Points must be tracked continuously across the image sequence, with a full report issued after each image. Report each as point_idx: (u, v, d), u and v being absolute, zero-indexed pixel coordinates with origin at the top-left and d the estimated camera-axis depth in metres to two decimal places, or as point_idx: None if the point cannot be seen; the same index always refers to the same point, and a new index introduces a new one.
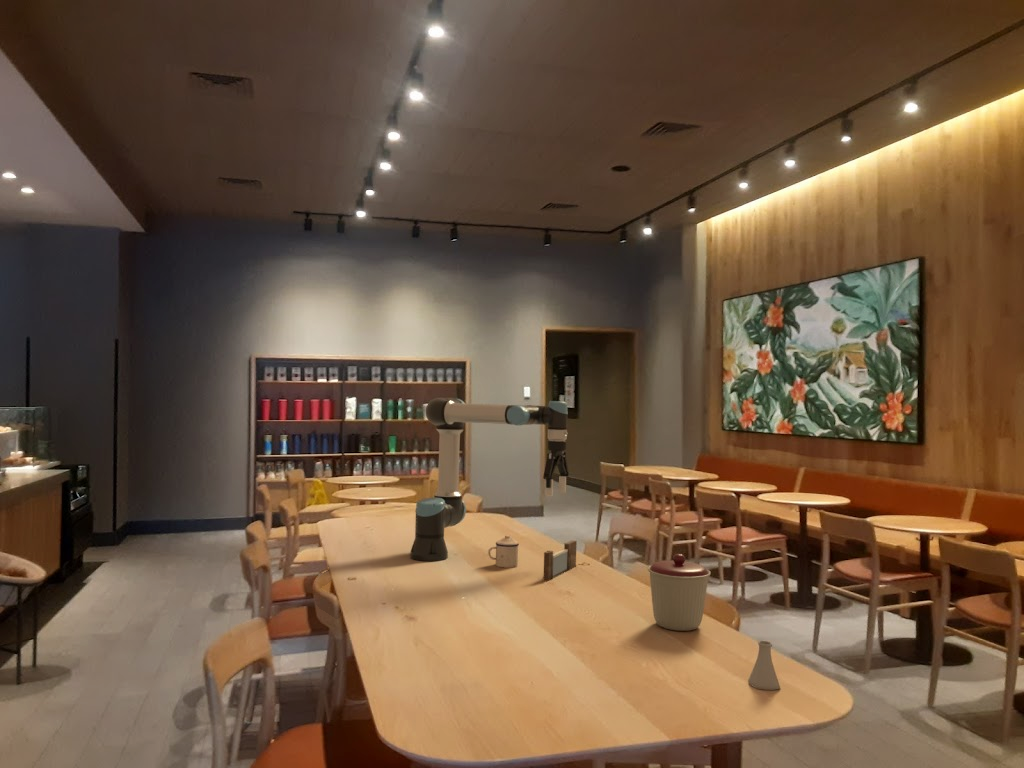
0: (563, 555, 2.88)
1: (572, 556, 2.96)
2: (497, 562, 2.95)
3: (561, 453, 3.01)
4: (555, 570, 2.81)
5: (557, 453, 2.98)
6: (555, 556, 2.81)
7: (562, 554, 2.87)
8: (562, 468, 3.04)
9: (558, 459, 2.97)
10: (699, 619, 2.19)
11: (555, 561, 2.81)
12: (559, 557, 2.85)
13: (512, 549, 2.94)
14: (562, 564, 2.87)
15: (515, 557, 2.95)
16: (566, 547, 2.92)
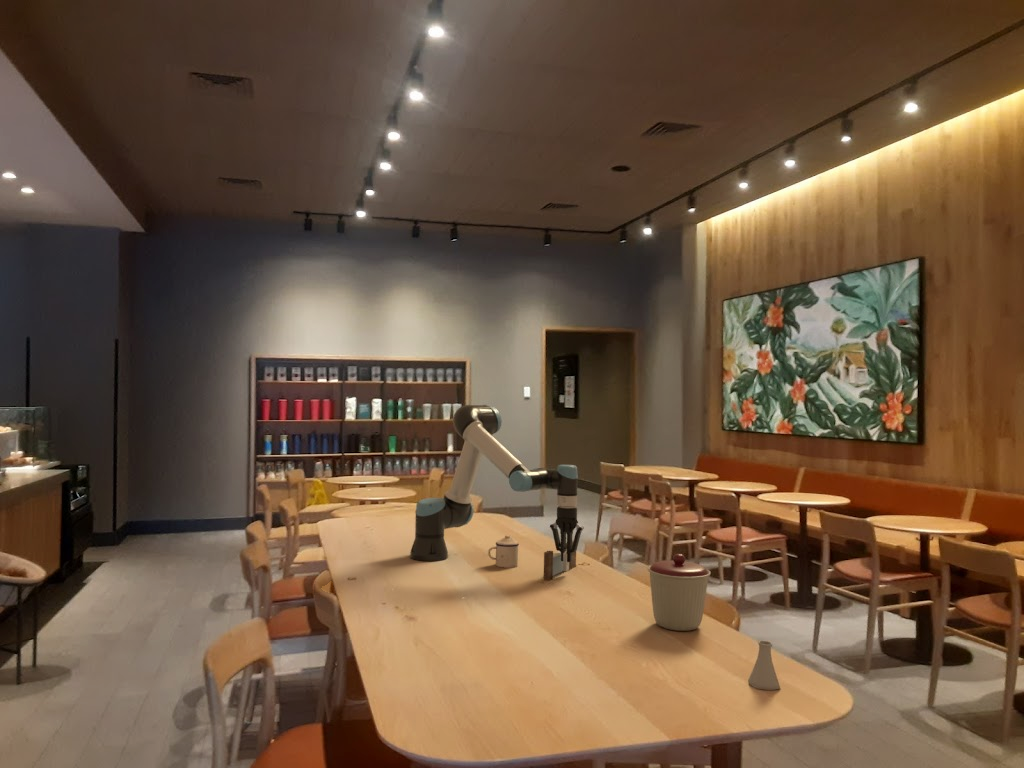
0: None
1: (572, 556, 2.96)
2: (497, 562, 2.95)
3: (572, 520, 2.81)
4: (555, 570, 2.81)
5: (558, 518, 2.84)
6: (555, 556, 2.81)
7: None
8: None
9: (561, 527, 2.82)
10: (699, 619, 2.19)
11: (554, 561, 2.81)
12: (559, 557, 2.85)
13: (512, 549, 2.94)
14: (562, 564, 2.87)
15: (515, 557, 2.95)
16: (566, 547, 2.92)
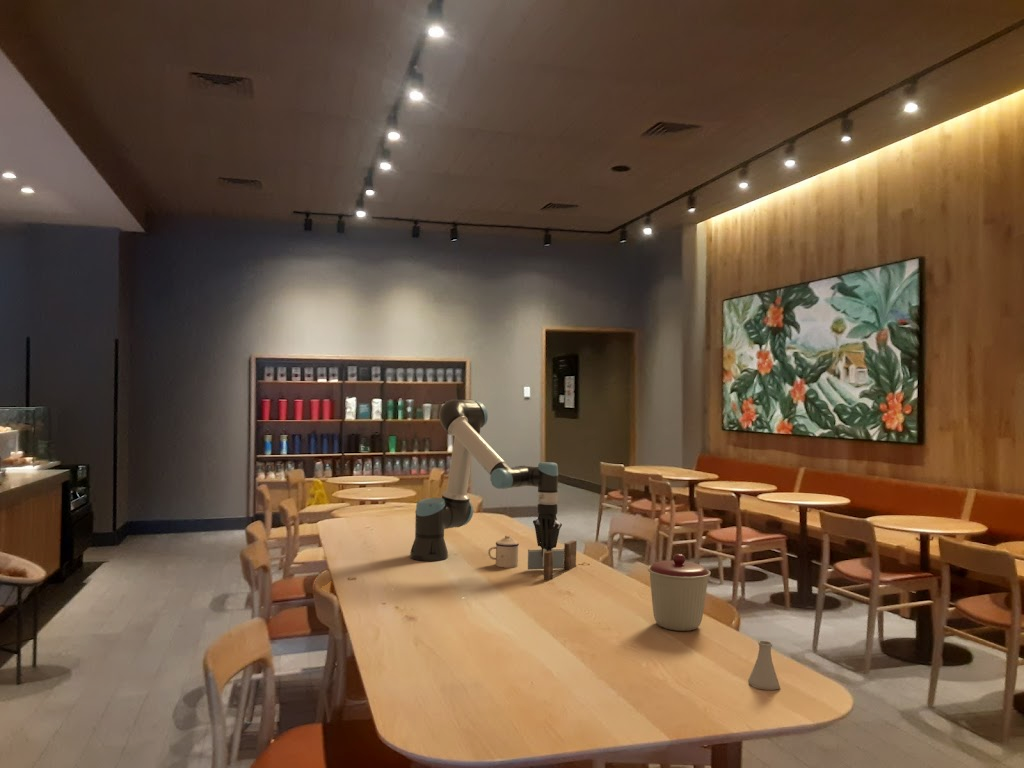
0: (554, 553, 2.92)
1: (572, 556, 2.96)
2: (497, 562, 2.95)
3: (550, 516, 2.86)
4: (534, 564, 2.90)
5: (540, 514, 2.90)
6: (533, 551, 2.90)
7: None
8: None
9: (541, 523, 2.88)
10: (699, 619, 2.19)
11: (533, 555, 2.90)
12: None
13: (512, 549, 2.94)
14: None
15: (515, 557, 2.95)
16: (566, 547, 2.92)
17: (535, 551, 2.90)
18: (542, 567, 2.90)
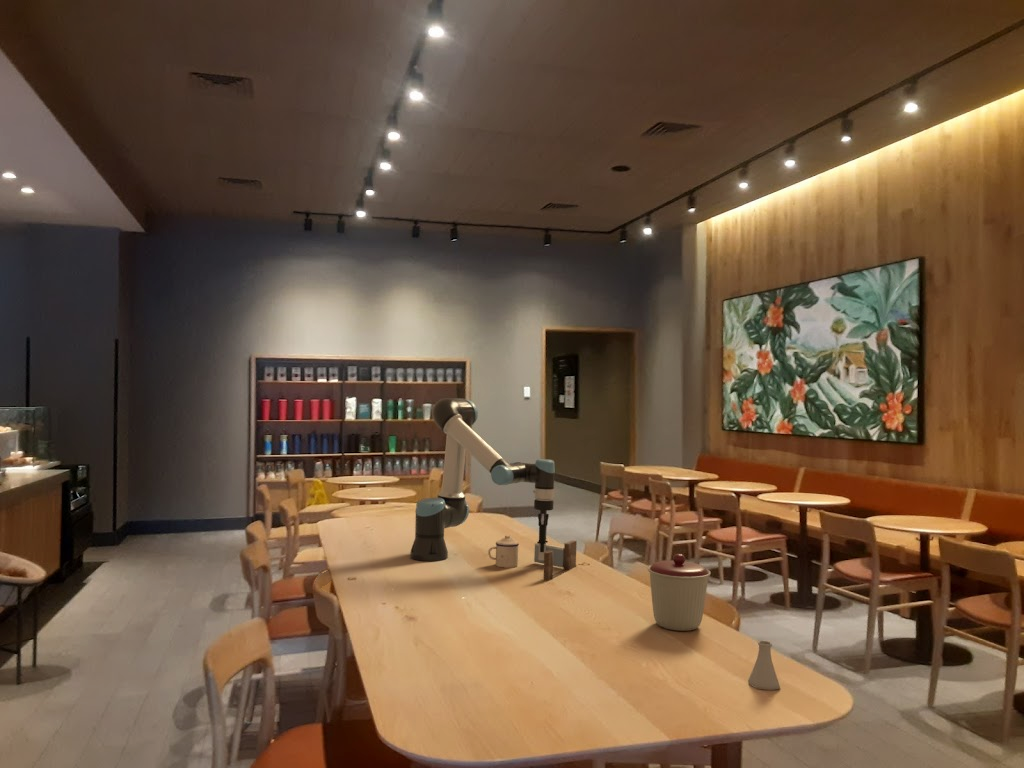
0: (554, 550, 2.96)
1: (572, 556, 2.96)
2: (497, 562, 2.95)
3: (540, 512, 2.95)
4: None
5: None
6: (538, 545, 3.02)
7: (552, 549, 2.97)
8: None
9: None
10: (699, 619, 2.19)
11: (538, 549, 3.02)
12: (546, 549, 2.99)
13: (512, 549, 2.94)
14: None
15: (515, 557, 2.95)
16: (566, 547, 2.92)
17: None
18: None
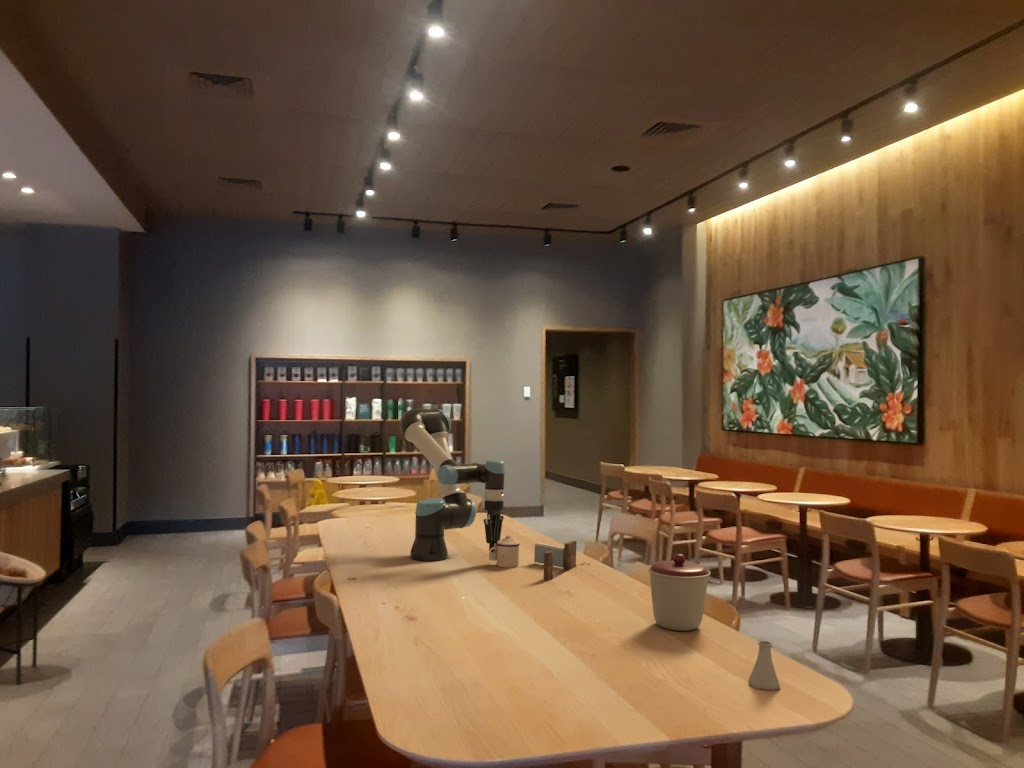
0: (554, 550, 2.96)
1: (572, 556, 2.96)
2: (498, 562, 2.95)
3: (499, 511, 3.02)
4: (539, 558, 3.01)
5: (493, 512, 2.97)
6: (538, 545, 3.02)
7: (552, 549, 2.97)
8: (495, 531, 3.00)
9: (495, 520, 2.97)
10: (699, 619, 2.19)
11: (538, 549, 3.02)
12: (546, 549, 2.99)
13: (513, 549, 2.94)
14: None
15: (516, 557, 2.95)
16: (566, 547, 2.92)
17: (539, 545, 3.01)
18: None
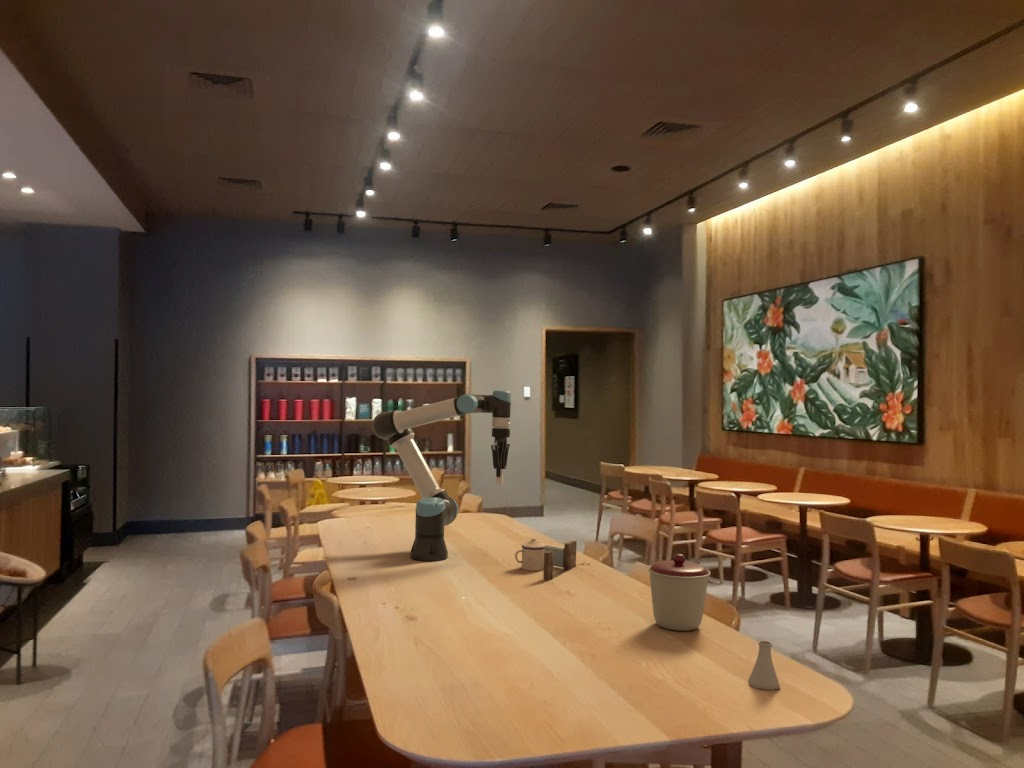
0: (554, 550, 2.96)
1: (572, 556, 2.96)
2: (524, 565, 2.91)
3: (505, 439, 3.18)
4: None
5: (500, 438, 3.13)
6: None
7: (552, 549, 2.97)
8: (502, 457, 3.16)
9: (502, 446, 3.14)
10: (699, 619, 2.19)
11: None
12: (546, 549, 2.99)
13: (539, 552, 2.90)
14: None
15: (542, 560, 2.91)
16: (566, 547, 2.92)
17: None
18: None
